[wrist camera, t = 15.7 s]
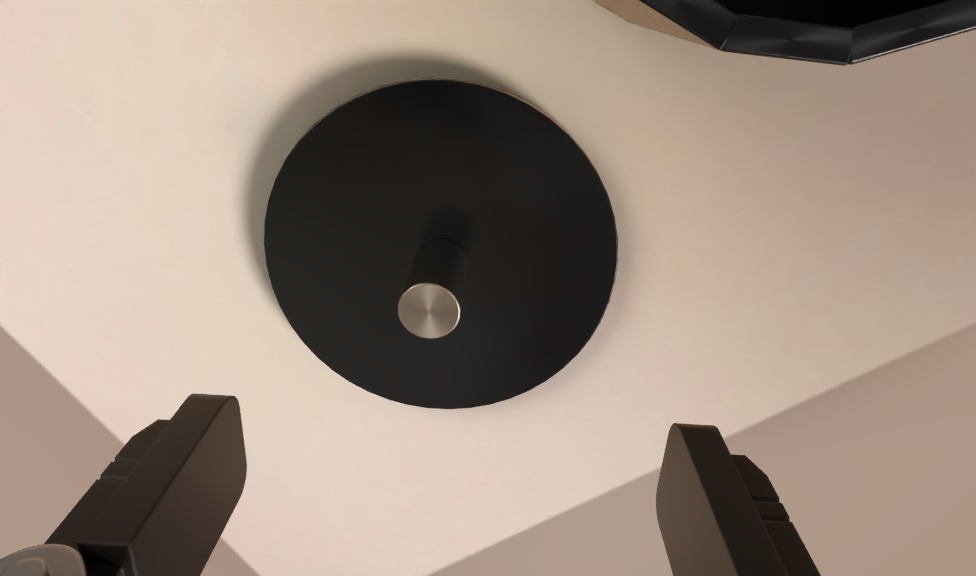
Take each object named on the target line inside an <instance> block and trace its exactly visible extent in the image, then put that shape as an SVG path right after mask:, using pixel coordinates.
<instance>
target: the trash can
mask: <svg viewBox="0 0 976 576" xmlns="http://www.w3.org/2000/svg"><path fill="white" fill-rule="evenodd" d="M593 1H594V2H596V3H597V4H599V5H601V6H603V7H605V8H606V9H608V10H610V11H611V12H613V13H614V14H616V15H618V16H619V17H621V18H623V19H624V20H626V21H627V22H629V23H633V24H636V25H639V26H642V27H646V28H649V29H652V30H655V31H659V32H662V33H665V34H668V35H671V36H675V37H678V38H681V39H684V40H688V41H691V42H694V43H697V44H701V45H704V46H707V47H710V48H713V49H717V50H720V51H723V52H731V53H740V54H748V55H757V56H766V57H774V58H783V59H792V60H800V61H809V62H818V63H826V64H835V65H843V66H844V65H847V64H851V65H852V64H855V63H859V62H862V61H866V60H869V59H873V58H876V57H880V56H883V55H887V54H890V53H894V52H897V51H901V50H904V49H908V48H911V47H915V46H918V45H922V44H926V43H929V42H933V41H936V40H940V39H943V38H947V37H950V36H954V35H957V34H961V33H964V32H968V31H971V30H975V29H976V0H593Z"/></svg>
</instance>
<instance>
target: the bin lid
mask: <svg viewBox="0 0 976 576" xmlns="http://www.w3.org/2000/svg"><path fill="white" fill-rule="evenodd" d="M264 246H265V255H266V264H267V269H268V273H269V277H270V281H271V284H272V288H273V290H274V293H275V295H276V298H277V300H278V303H279V305H280V307H281V309H282V311H283V313H284V314H285V316H286V318H287V320H288V322H289V323H290V325H291V326H292V328H293V329H294V330H295V332H296V333H297V335H298V336H299V337H300V339H301V340H302V341H303V342H304V343H305V345H306V346H307V347H308V348H309V349H310V350H311V351H312V352H313V353H314V354H315V355H316V356H317V357H318V358H319V359H320V360H321V361H322V362H324V363H325V364H326V365H327V366H328V367H329V368H331V369H332V370H333V371H335V372H336V373H338V374H339V375H340V376H342V377H343V378H345V379H346V380H348V381H349V382H351V383H353V384H355V385H357V386H359V387H361V388H363V389H364V390H366V391H368V392H371V393H373V394H376V395H378V396H381V397H384V398H386V399H389V400H393V401H396V402H400V403H404V404H407V405H413V406H419V407H426V408H439V409H457V408H471V407H477V406H483V405H489V404H493V403H496V402H500V401H503V400H507V399H510V398H512V397H515V396H517V395H519V394H522V393H524V392H527V391H529V390H531V389H532V388H534V387H536V386H538V385H539V384H541V383H543V382H545V381H546V380H548V379H549V378H550V377H552V376H553V375H555V374H556V373H557V372H559V371H560V370H561V369H563V368H564V367H565V366H566V365H567V364H568V363H569V362H570V361H571V360H572V359H573V358H574V357H575V356H576V355H577V354H578V353H579V352H580V351H581V349H582V348H583V347H584V346H585V344H586V343H587V342H588V341H589V339H590V338H591V336H592V335H593V333H594V332H595V330H596V328H597V327H598V325H599V323H600V322H601V320H602V318H603V315H604V313H605V311H606V308H607V306H608V304H609V301H610V298H611V294H612V291H613V287H614V284H615V278H616V271H617V263H618V237H617V230H616V224H615V217H614V214H613V210H612V207H611V204H610V200H609V197H608V194H607V192H606V190H605V188H604V185H603V183H602V181H601V179H600V177H599V175H598V173H597V171H596V169H595V167H594V166H593V164H592V163H591V161H590V160H589V158H588V157H587V155H586V153H585V152H584V150H583V149H582V148H581V147H580V146H579V145H578V144H577V142H576V141H575V140H574V139H573V138H572V137H571V135H570V134H569V133H568V132H567V131H566V130H565V129H563V128H562V127H561V126H560V125H559V124H558V123H557V122H555V121H554V120H553V119H552V118H551V117H550V116H548V115H547V114H545V113H544V112H542V111H541V110H539V109H538V108H536V107H535V106H533V105H532V104H530V103H529V102H527V101H525V100H523V99H521V98H518V97H516V96H514V95H512V94H510V93H508V92H506V91H503V90H500V89H497V88H494V87H491V86H488V85H485V84H482V83H476V82H471V81H465V80H460V79H449V78H422V79H411V80H403V81H399V82H395V83H391V84H386V85H382V86H379V87H377V88H374V89H371V90H369V91H366V92H364V93H361V94H359V95H357V96H355V97H353V98H351V99H350V100H348V101H346V102H344V103H343V104H341V105H339V106H337V107H336V108H334V109H333V110H332V111H331V112H329V113H328V114H327V115H325V116H324V117H323V118H322V119H320V120H319V121H318V122H316V123H315V124H314V125H313V126H312V127H311V128H310V129H309V130H308V132H307V133H306V134H305V135H304V136H303V137H302V138H301V139H300V140H299V141H298V143H297V144H296V145H295V147H294V148H293V150H292V151H291V152H290V154H289V155H288V157H287V158H286V160H285V162H284V164H283V166H282V168H281V170H280V172H279V174H278V176H277V178H276V180H275V183H274V186H273V189H272V192H271V195H270V198H269V201H268V207H267V213H266V218H265V234H264Z"/></svg>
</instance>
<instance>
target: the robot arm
mask: <svg viewBox="0 0 976 576" xmlns="http://www.w3.org/2000/svg"><path fill="white" fill-rule="evenodd" d="M246 471H247V463H246V454H245V446H244V438H243V430H242V422H241V414H240V407H239V402H238V400H237V398H236V397H235V396H225V395H208V394H191V395H190V396H189V397H188V398H187V399H186V400H185V401H184V403H183V404H182V405H181V407H180V408H179V409H178V411H177V412H176V413H175V414H174V416H173V417H172V418H171V420H159V419H158V420H157V421H155V422H154V423H152V424H151V425H149V426H148V427H146V428H145V429H143V430H142V431H140V432H139V433H137V434H136V435H134V436H133V437H132V438H131V439H130V440H129V441H128V442H127V444H126V445H125V446H124V447H123V449H122V450H121V451H120V452H119V454H118V455H117V456H116V457H115V461H114V462H111V463H110V464H109V466H108V467H107V468H106V469H105V471H104V472H103V473H102V474H101V478H100V480H96V481H95V483H94V484H93V485H92V486H91V487H90V489H89V490H88V491H87V492H86V493H85V495H84V496H83V497H82V498H81V500H80V501H79V502H78V503H77V504H76V506H75V507H74V508H73V509H72V511H71V512H70V513H69V514H68V515H67V517H66V518H65V519H64V520H63V521H62V523H61V524H60V525H59V526H58V528H57V529H56V530H55V531H54V532H53V534H52V535H51V536H50V537H49V538H48V540H47V541H46V542H45V543H44V544H43V545H38V546H33V547H29V548H26V549H22V550H20V551H17V552H15V553H12V554H10V555H8V556H6V557H4V558H2V559H0V576H200V575H201V572H202V571H203V569H204V567H205V565H206V563H207V561H208V559H209V557H210V555H211V553H212V551H213V549H214V547H215V545H216V543H217V541H218V540H219V538H220V536H221V534H222V532H223V530H224V528H225V526H226V524H227V522H228V520H229V518H230V516H231V514H232V512H233V510H234V509H235V507H236V505H237V503H238V501H239V499H240V497H241V494H242V492H243V488H244V484H245V479H246ZM656 509H657V518H658V523H659V527H660V530H661V534H662V538H663V541H664V544H665V548H666V551H667V555H668V558H669V562H670V565H671V569H672V572H673V576H821V575H820V574H819V572H818V570H817V568H816V566H815V564H814V562H813V560H812V559H811V557H810V555H809V553H808V551H807V549H806V548H805V545H804V544H803V542H802V540H801V538H800V537H799V534H798V533H797V531H796V529H795V527H794V525H793V523H792V522H790V521H789V516H788V514H787V512H786V510H785V508H784V506H783V504H782V503H779V497H778V495H777V493H776V492H775V490H774V488H773V486H772V484H771V482H770V480H769V479H768V477H767V475H766V474H765V473H763V472H762V471H761V470H760V469H759V468H758V467H757V466H756V465H755V464H754V463H753V462H752V461H751V460H749V459H748V458H747V457H746V456H745V455H731V454H730V453H729V451H728V448H727V446H726V444H725V442H724V440H723V438H722V436H721V434H720V432H719V430H718V428H717V427H716V426H711V425H694V424H677V423H674V424H673V425H672V426H671V428H670V431H669V434H668V439H667V444H666V448H665V453H664V458H663V463H662V467H661V472H660V477H659V482H658V487H657V494H656Z"/></svg>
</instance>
